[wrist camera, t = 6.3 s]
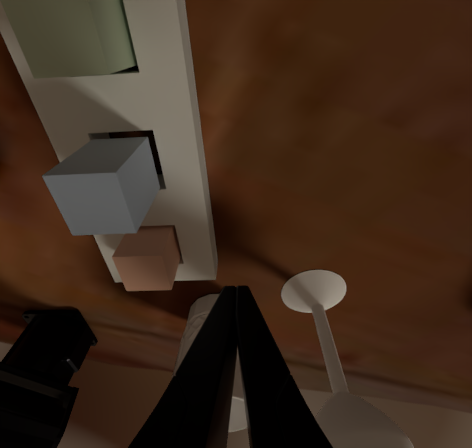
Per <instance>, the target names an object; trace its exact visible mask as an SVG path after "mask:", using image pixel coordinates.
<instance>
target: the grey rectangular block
mask: <svg viewBox="0 0 472 448" xmlns="http://www.w3.org/2000/svg"><path fill="white" fill-rule="evenodd" d="M42 177H43V179H44V181H45V183H46V185H47V187H48V189H49V191H50V192H51V194H52V196H53V198H54V200H55V202H56V204H57V206H58V208H59V210H60V212H61V214H62V216H63V218H64V220H65V222H66V224H67V225H68V227H69V229H70V231H71V233H72V235H99V234H128V233H137V231H138V229H139V227H140V225H141V223H142V222H143V220H144V218H145V216H146V214H147V212H148V210H149V208H150V206H151V204H152V202H153V200H154V199H155V197H156V195H157V193H158V191H159V189H160V185H159V181H158V177H157V173H156V169H155V165H154V161H153V156H152V152H151V148H150V144H149V140H148V137H135V138H115V139H95V140H91V141H90V142H88V143H87V144H85V145H84V146H83V147H81V148H80V149H78V150H77V151H76V152H74V153H73V154H72V155H70V156H69V157H67V158H66V159H65V160H63V161H62V162H60V163H59V164H58V165H56V166H55V167H53V168H52V169H51V170H49V171H48V172H47V173H45V174H44V175H42Z"/></svg>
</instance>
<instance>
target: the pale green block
mask: <svg viewBox="0 0 472 448" xmlns="http://www.w3.org/2000/svg"><path fill="white" fill-rule="evenodd" d="M0 1H1V4H2V6H3V8H4V11H5V13H6V15H7V18H8V20H9V22H10V25H11V27H12V29H13V31H14V34H15V36H16V38H17V41H18V43H19V45H20V48H21V50H22V52H23V54H24V57H25V59H26V61H27V64H28V66H29V68H30V71H31V73H32V75H33V77H34V79H38V78H54V77H70V76H86V75H102V74H111V73H114V72H117V71H121V70H124V69H127V68H130V67H133V66H136V65H138V64H137V59H136V55H135V50H134V46H133V42H132V37H131V33H130V29H129V24H128V20H127V16H126V11H125V7H124V3H123V0H0Z"/></svg>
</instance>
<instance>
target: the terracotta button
mask: <svg viewBox="0 0 472 448" xmlns="http://www.w3.org/2000/svg"><path fill="white" fill-rule="evenodd" d="M180 258H181V250H180V246H179V241H178V237H177V233H176V228H175V225H161V226H140V227H139V229H138V231H137V233H128V234H125V235H124V237H123V238H122V240H121V242H120V244H119V245H118V247H117V249H116V251H115V252H114V254H113V256H112V259H113V261H114V263H115V266H116V268H117V270H118V273H119V275H120V277H121V280H122V282H123V284H124V286H125V289H126V291H151V290H172V287H173V284H174V280H175V276H176V272H177V269H178V265H179V261H180Z"/></svg>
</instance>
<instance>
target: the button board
mask: <svg viewBox="0 0 472 448" xmlns="http://www.w3.org/2000/svg"><path fill="white" fill-rule="evenodd" d="M123 3H124V7H125V11H126V16H127V20H128V24H129V29H130V33H131V37H132V42H133V46H134V50H135V55H136V59H137V64H138V68H139V69H124V70H121V71H117V72H114V73H111V74H102V75H86V76H70V77H54V78H38V79H34V77H33V75H32V73H31V71H30V68H29V66H28V64H27V61H26V59H25V57H24V54H23V52H22V50H21V48H20V45H19V43H18V41H17V38H16V36H15V34H14V31H13V29H12V27H11V25H10V22H9V20H8V18H7V15H6V13H5V11H4V8H3V6H2V4H1V1H0V32H1V35H2V37H3V39H4V41H5V43H6V46H7V48H8V50H9V52H10V54H11V56H12V59H13V61H14V63H15V65H16V67H17V70H18V72H19V74H20V76H21V78H22V80H23V83H24V85H25V87H26V89H27V91H28V94H29V96H30V98H31V100H32V102H33V104H34V107H35V109H36V111H37V113H38V115H39V118H40V120H41V122H42V124H43V126H44V128H45V131H46V133H47V135H48V137H49V139H50V142H51V144H52V146H53V148H54V150H55V152H56V155H57V157H58V159H59V161H60V162H62V161H63V160H65V159H66V158H67V157H69V156H70V155H72V154H73V153H74V152H76V151H77V150H78V149H80V148H81V147H83V146H84V145H85V144H87V143H88V142H90V141H91V140H95V139H110V137H109V134H108V132H123V131H143V130H153V133H154V137H155V142H156V146H157V150H158V155H159V159H160V163H161V168H162V172H163V174H157V177H158V181H159V185H160V189H159V191H158V193H157V195H156V197H155V199H154V200H153V202H152V204H151V206H150V208H149V210H148V212H147V214H146V216H145V218H144V220H143V222H142V223H141V225H140V226H161V225H175V228H176V233H177V237H178V241H179V246H180V250H181V258H180V261H179V265H178V269H177V272H176V276H175V280H174V281H188V280H216V274H217V264H218V257H217V249H216V241H215V233H214V226H213V218H212V210H211V202H210V194H209V186H208V179H207V171H206V163H205V155H204V147H203V140H202V132H201V124H200V116H199V108H198V100H197V93H196V85H195V77H194V69H193V61H192V54H191V46H190V38H189V30H188V22H187V15H186V7H185V0H123ZM124 235H125V234H99V235H94V238H95V240H96V242H97V244H98V246H99V248H100V251H101V253H102V255H103V257H104V259H105V262H106V264H107V266H108V268H109V270H110V272H111V275H112V277H113V279H114V281H115V282H122V280H121V277H120V275H119V273H118V270H117V268H116V266H115V263H114V261H113V259H112V256H113V254H114V252H115V251H116V249H117V247H118V245H119V244H120V242H121V240H122V238H123V237H124Z"/></svg>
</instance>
